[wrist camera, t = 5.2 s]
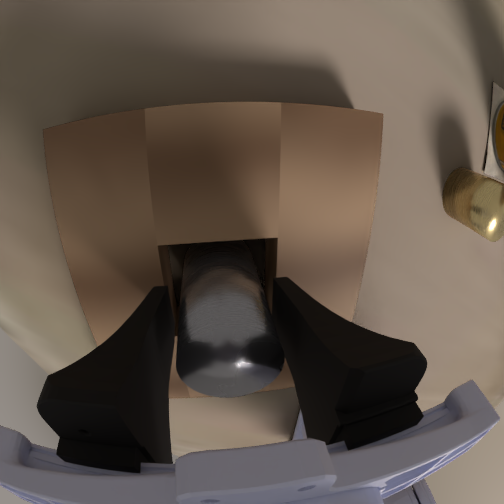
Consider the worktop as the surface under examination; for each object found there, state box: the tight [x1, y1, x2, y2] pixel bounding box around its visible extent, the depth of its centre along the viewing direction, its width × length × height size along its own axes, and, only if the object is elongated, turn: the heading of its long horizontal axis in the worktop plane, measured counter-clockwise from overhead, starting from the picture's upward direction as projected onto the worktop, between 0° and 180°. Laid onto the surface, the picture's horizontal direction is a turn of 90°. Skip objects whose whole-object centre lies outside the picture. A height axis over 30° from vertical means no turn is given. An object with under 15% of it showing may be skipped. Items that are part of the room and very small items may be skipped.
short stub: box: [443, 168, 504, 242], centre depth 14 cm, size 4×4×4 cm
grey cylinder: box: [176, 240, 285, 398], centre depth 12 cm, size 4×4×7 cm
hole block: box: [43, 102, 383, 398], centre depth 14 cm, size 16×14×2 cm
